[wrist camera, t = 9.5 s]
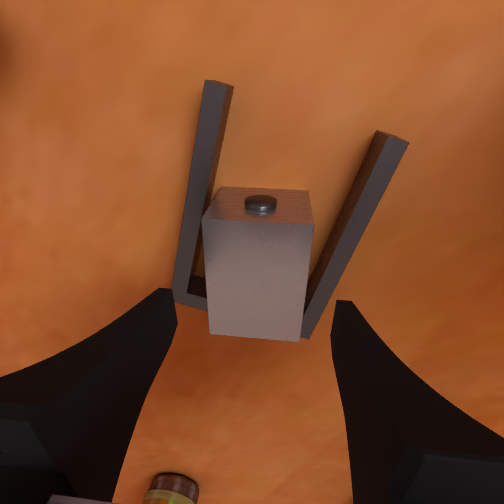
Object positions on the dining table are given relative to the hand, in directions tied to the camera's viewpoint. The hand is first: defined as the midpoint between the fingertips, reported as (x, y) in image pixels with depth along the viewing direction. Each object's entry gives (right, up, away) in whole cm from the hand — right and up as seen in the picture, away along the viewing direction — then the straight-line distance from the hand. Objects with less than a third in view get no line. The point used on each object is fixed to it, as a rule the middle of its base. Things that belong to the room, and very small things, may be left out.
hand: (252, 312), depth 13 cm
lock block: (+1, +3, +6) cm, 7 cm away
